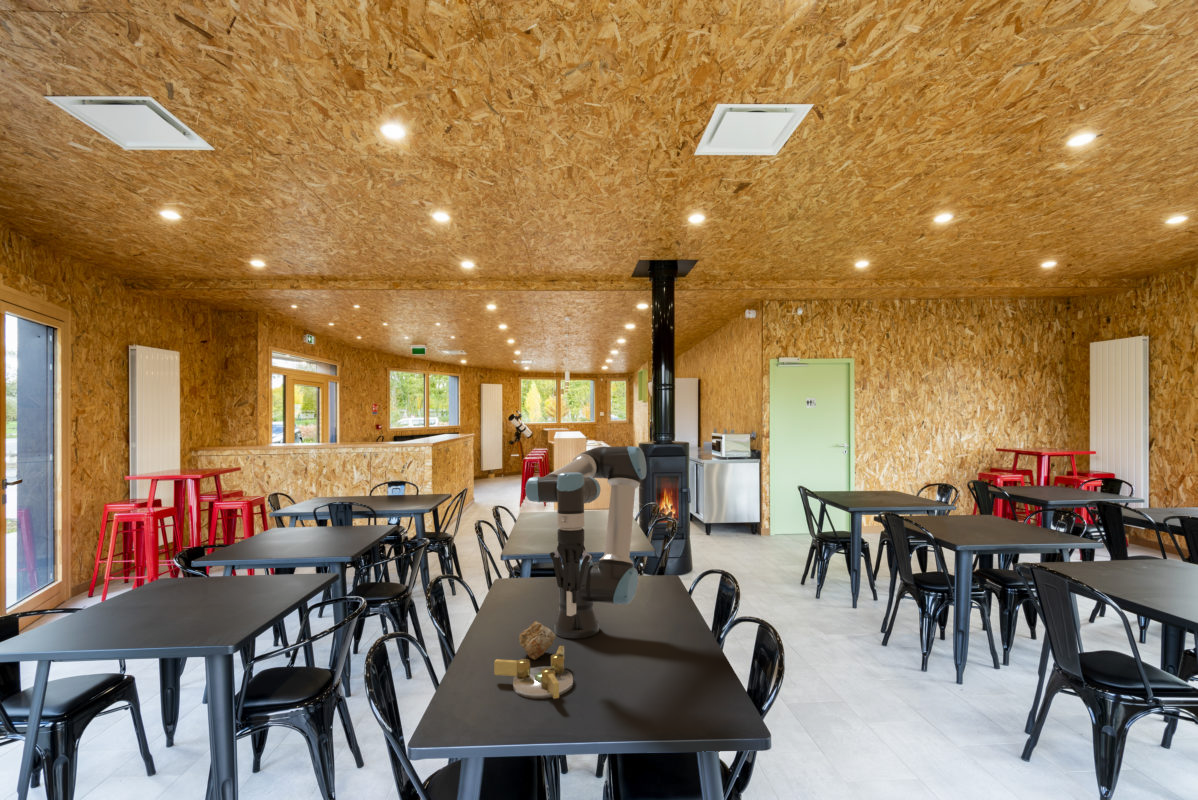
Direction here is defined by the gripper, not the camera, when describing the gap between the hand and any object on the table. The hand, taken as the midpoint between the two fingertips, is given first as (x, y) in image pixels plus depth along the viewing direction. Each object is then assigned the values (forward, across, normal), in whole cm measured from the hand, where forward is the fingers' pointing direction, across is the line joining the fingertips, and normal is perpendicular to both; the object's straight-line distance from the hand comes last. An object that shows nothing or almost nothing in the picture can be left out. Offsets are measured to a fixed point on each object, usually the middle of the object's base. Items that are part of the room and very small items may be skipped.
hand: (571, 614), depth 159 cm
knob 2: (+16, +1, -13) cm, 20 cm away
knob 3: (+15, -5, +1) cm, 16 cm away
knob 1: (+15, -13, -9) cm, 22 cm away
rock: (+17, -18, +8) cm, 26 cm away
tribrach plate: (+17, -5, -7) cm, 19 cm away
